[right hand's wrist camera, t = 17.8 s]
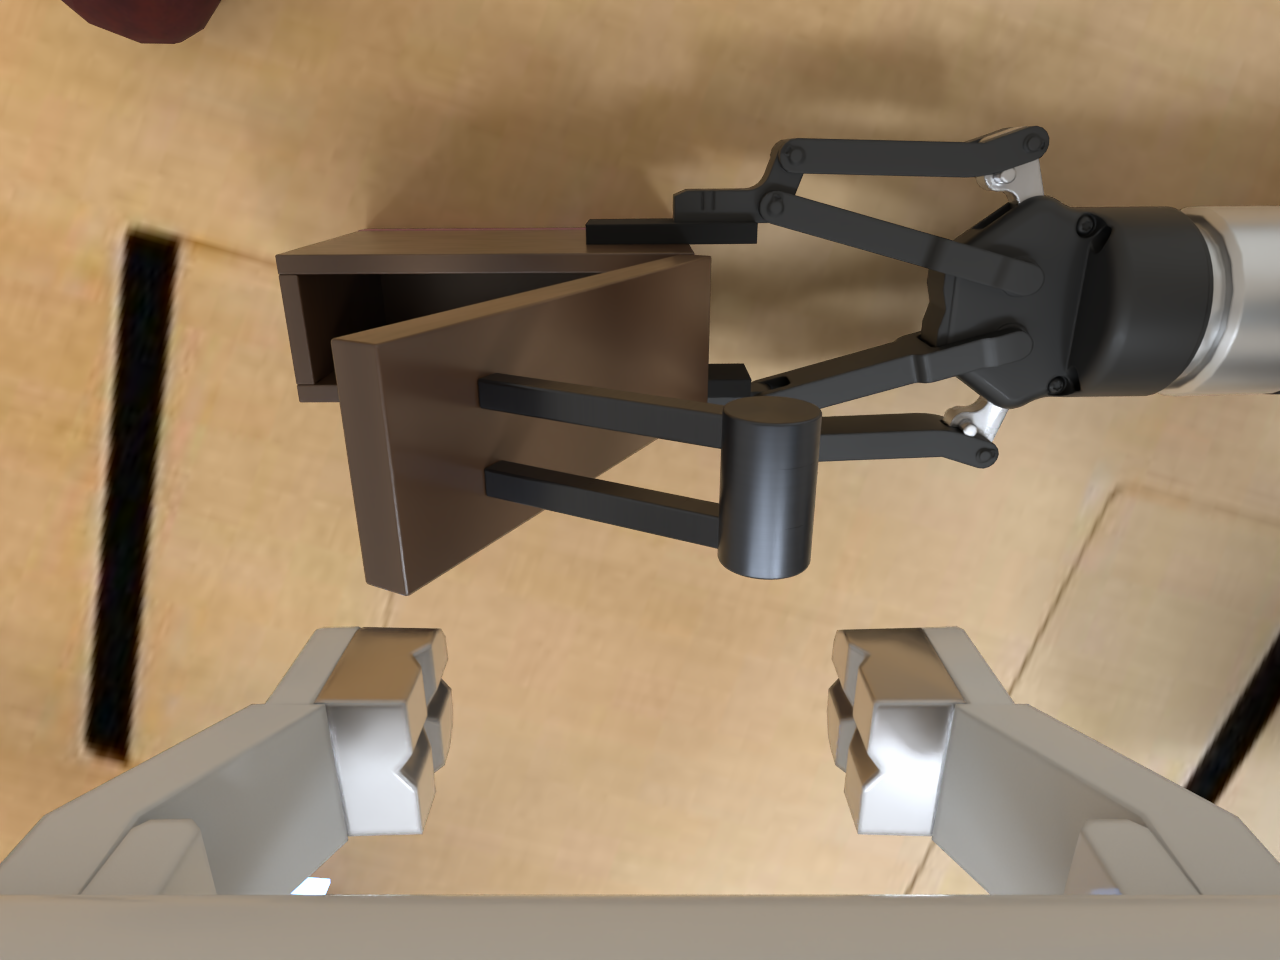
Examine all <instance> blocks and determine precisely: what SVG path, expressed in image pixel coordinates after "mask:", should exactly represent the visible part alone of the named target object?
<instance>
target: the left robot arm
mask: <svg viewBox="0 0 1280 960" xmlns="http://www.w3.org/2000/svg"><path fill="white" fill-rule="evenodd" d="M1048 146H1049V136H1048V133H1047V131H1045V130H1044V129H1043V128H1042V127H1039V126H1028V127H1027V126H1026V127H1013V128H1004V129H1001V130H998V131H995V132H992V133H989V134H986V135H983V136H980V137H978V138H975V139H972V140H969V141H966V142H932V141H891V140H849V139H807V138H795V139H785V140H781V141H779V142H777V143H776V144H775V145H774V147H773V148H772V150H771V154H770V160H769V163H768V165H767V168H766V170H765V173H764V175H763V177H762V179H761V180H760V181H759V182H758V183H757V184H756V185H755V186H752V187H750V188H739V189H685V190H682V191H680V192H678V193H675V194H673V218H671V219H590V220H589V221H588V222H587V224H586V245H609V244H757V225H758V223H771V224H774V225H778V226H781V227H785V228H788V229H792V230H795V231H799V232H802V233H806V234H809V235H813V236H816V237H820V238H823V239H827V240H830V241H834V242H837V243H841V244H845V245H848V246H852V247H855V248H859V249H862V250H866V251H869V252H873V253H876V254H880V255H883V256H887V257H890V258H894V259H897V260H901V261H904V262H908V263H911V264H915V265H919V266H922V267H925V268H928V278H927V286H928V293H929V300H930V302H929V305H928V308H927V310H926V313H925V315H924V318H923V321H922V329H921V331H919V332H916V333H912V334H909V335H905V336H902V337H900V338H898V339H897V340H896V341H894V342H892V343H888V344H885V345H881V346H878V347H874V348H870V349H867V350H863V351H860V352H856V353H852V354H849V355H845V356H842V357H838V358H834V359H831V360H827V361H824V362H820V363H817V364H813V365H809V366H806V367H802V368H799V369H795V370H791V371H788V372H784V373H781V374H777V375H773V376H770V377H766V378H763V379H759V380H755V381H753V382H751V378H750V376H749V374H748V372H747V370H746V367H745V365H744V364H708V399H707V403H712V404H719V405H726V404H727V403H728V402H730V401H733V400H736V399H740V398H745V397H753V396H780V397H789V398H795V399H799V400H803V401H806V402H809V403H812V404H814V405H816V406H817V407H819V408H820V409H821V408H824V407H828V406H832V405H835V404H839V403H843V402H846V401H850V400H854V399H857V398H861V397H865V396H868V395H872V394H876V393H880V392H883V391H887V390H891V389H894V388H898V387H902V386H905V385H909V384H913V383H931V382H936V381H939V380H943V379H947V378H950V377H954V376H956V377H957V378H958V379H960V380H961V381H962V382H963V383H965V384H966V385H967V386H969V387H970V388H971V389H973V390H974V391H975V392H976V393H978V394H979V395H980V396H979V398H978V399H977V401H976V402H974V403H973V404H971V405H969V406H956V407H952V408H950V409H948V410H947V411H946V412H945V415H944V417H943V416H939V415H935V414H927V413H906V414H881V415H857V416H832V417H822V422H821V434H820V446H819V459H818V462H821V461H846V460H871V459H896V458H922V457H944V458H948V459H951V460H954V461H957V462H961V463H964V464H967V465H970V466H973V467H977V468H987V467H990V466H991V465H993V464H994V463H995V461H996V460H997V458H998V454H999V453H998V448H997V447H996V445H995V444H993V443H992V441H993V439H994V437H995V435H996V433H997V431H998V429H999V427H1000V425H1001V423H1002V421H1003V419H1004V417H1005V415H1006V413H1007V411H1008V409H1014V408H1018V407H1021V406H1023V405H1025V404H1027V403H1029V402H1031V401H1033V400H1036V399H1039V398H1043V397H1098V396H1148V395H1152V394H1155V393H1159V394H1161V395H1167V396H1203V395H1242V394H1280V206H1195V207H1186V208H1183V209H1181V210H1177V209H1175V208H1172V207H1069V206H1066V205H1064V204H1063V203H1061V202H1060V201H1058V200H1057V199H1055V198H1053V197H1050V196H1045V195H1044V191H1043V184H1042V177H1041V171H1040V164H1039V158H1040V157H1042V156H1043V154H1044V153H1045V152H1046V150H1047V148H1048ZM803 174H846V175H888V176H930V177H976V181H977V184H978V185H979V186H980V187H981V188H982V189H985V190H990V191H1002V192H1003V193H1005V194H1006V196H1007V198H1008V201H1009V202H1008V203H1006V204H1005V205H1003V206H1002V207H1001V208H999V209H998V210H996V211H995V212H993V213H992V214H990V215H989V216H988V217H986V218H985V219H983V220H982V221H980V222H979V223H978V224H976V225H975V226H973V227H972V228H970V229H969V230H967V231H966V232H965V233H963V234H962V235H960V236H959V237H957V238H956V239H954V240H953V241H952V240H949V239H945V238H942V237H938V236H935V235H931V234H928V233H924V232H921V231H917V230H914V229H910V228H907V227H903V226H900V225H896V224H893V223H890V222H886V221H883V220H879V219H876V218H872V217H869V216H865V215H862V214H858V213H855V212H851V211H848V210H844V209H841V208H837V207H834V206H830V205H827V204H824V203H820V202H817V201H813V200H810V199H806V198H803V197H799V196H796V195H795V194H796V191H797V189H798V186H799V184H800V181H801V179H802V176H803Z"/></svg>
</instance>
